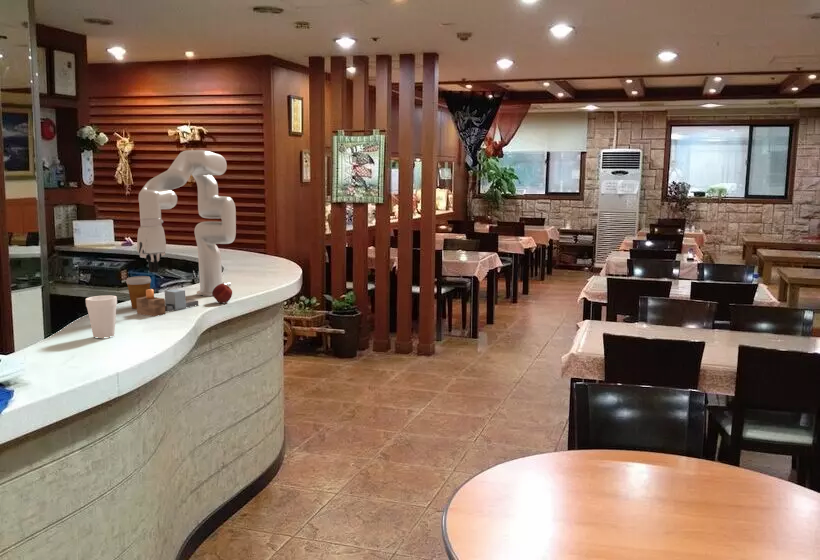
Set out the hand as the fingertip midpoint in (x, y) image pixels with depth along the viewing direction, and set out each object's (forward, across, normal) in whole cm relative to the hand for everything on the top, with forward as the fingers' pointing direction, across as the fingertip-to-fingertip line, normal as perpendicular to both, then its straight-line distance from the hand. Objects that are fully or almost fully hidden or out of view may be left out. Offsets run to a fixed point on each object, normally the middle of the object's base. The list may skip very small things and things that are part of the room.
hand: (153, 271), depth 280 cm
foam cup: (+17, +35, +18) cm, 43 cm away
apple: (+16, -28, +6) cm, 33 cm away
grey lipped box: (+16, -10, 0) cm, 18 cm away
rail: (+16, -12, 0) cm, 20 cm away
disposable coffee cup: (+16, -5, -15) cm, 22 cm away
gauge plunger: (+10, +2, 0) cm, 10 cm away
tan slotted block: (+16, +2, 0) cm, 16 cm away
